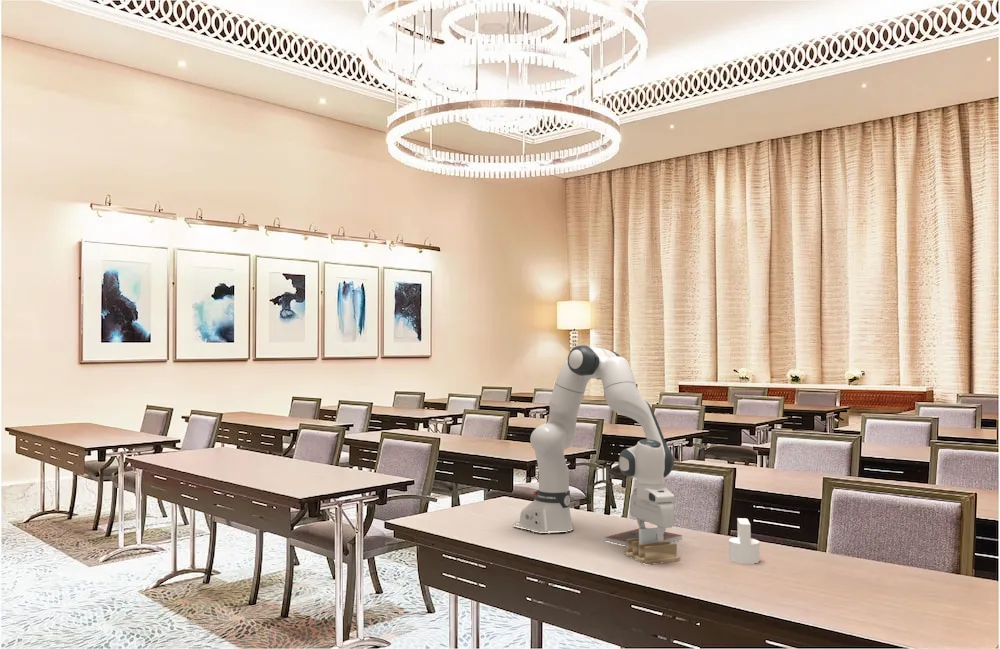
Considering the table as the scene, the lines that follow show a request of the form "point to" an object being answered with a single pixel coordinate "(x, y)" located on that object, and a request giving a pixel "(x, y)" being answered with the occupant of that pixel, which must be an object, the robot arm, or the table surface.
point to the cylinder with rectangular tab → (744, 544)
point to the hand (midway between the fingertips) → (651, 536)
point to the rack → (652, 551)
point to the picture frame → (623, 537)
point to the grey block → (648, 535)
